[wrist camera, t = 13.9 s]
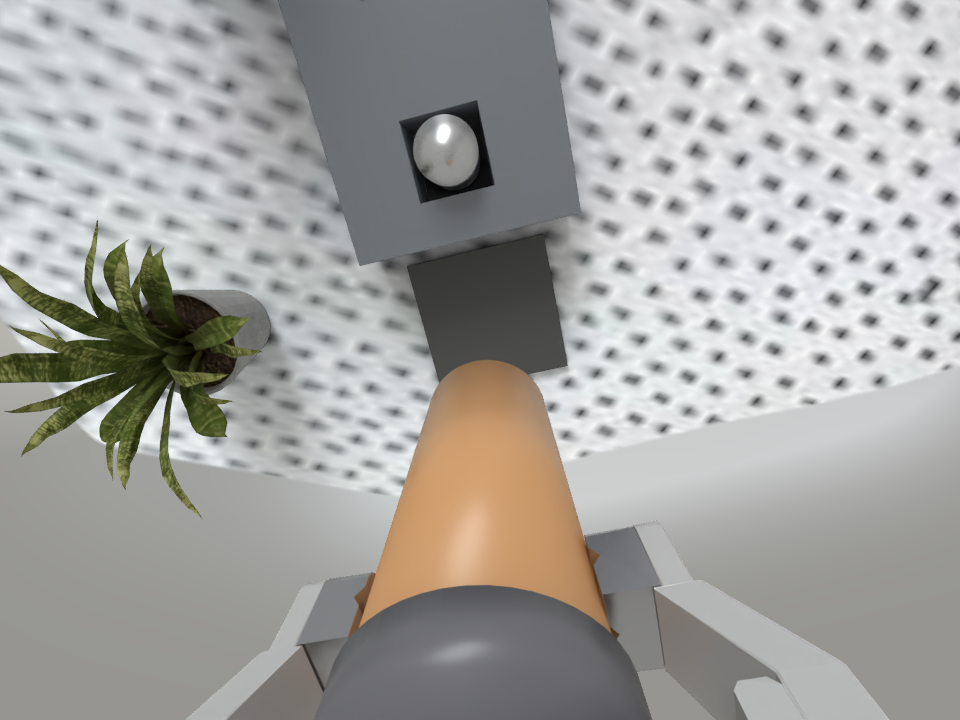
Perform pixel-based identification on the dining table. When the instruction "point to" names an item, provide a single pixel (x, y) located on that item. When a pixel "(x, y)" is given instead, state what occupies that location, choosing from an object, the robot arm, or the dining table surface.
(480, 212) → the housing
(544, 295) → the mat
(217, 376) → the house plant
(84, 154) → the dining table surface
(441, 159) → the plunger
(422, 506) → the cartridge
